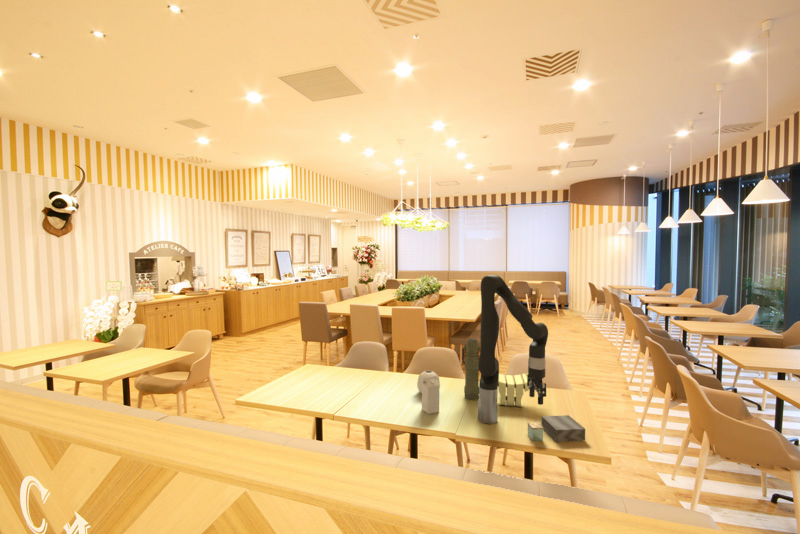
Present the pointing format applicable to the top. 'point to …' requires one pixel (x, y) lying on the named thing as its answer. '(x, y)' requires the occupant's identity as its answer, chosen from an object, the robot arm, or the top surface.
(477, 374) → the dark green pillar
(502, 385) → the slatted curved stool
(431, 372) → the vase
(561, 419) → the charcoal box
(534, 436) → the tea tin
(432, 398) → the milk carton
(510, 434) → the top surface
